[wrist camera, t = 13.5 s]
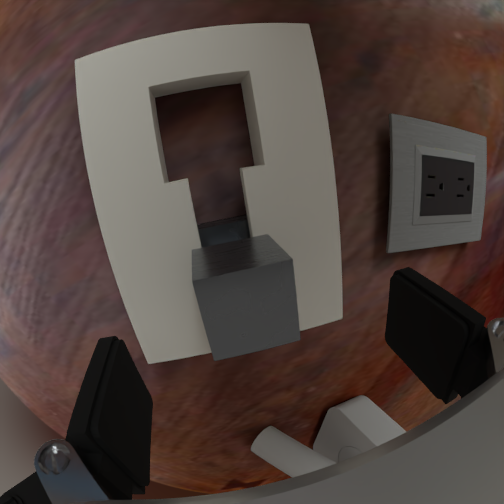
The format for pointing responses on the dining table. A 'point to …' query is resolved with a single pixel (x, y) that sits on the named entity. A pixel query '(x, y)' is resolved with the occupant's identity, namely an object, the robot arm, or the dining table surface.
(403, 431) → the wall hook
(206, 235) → the keyhole peg
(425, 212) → the electrical outlet
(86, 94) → the keyhole plate
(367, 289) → the dining table surface
